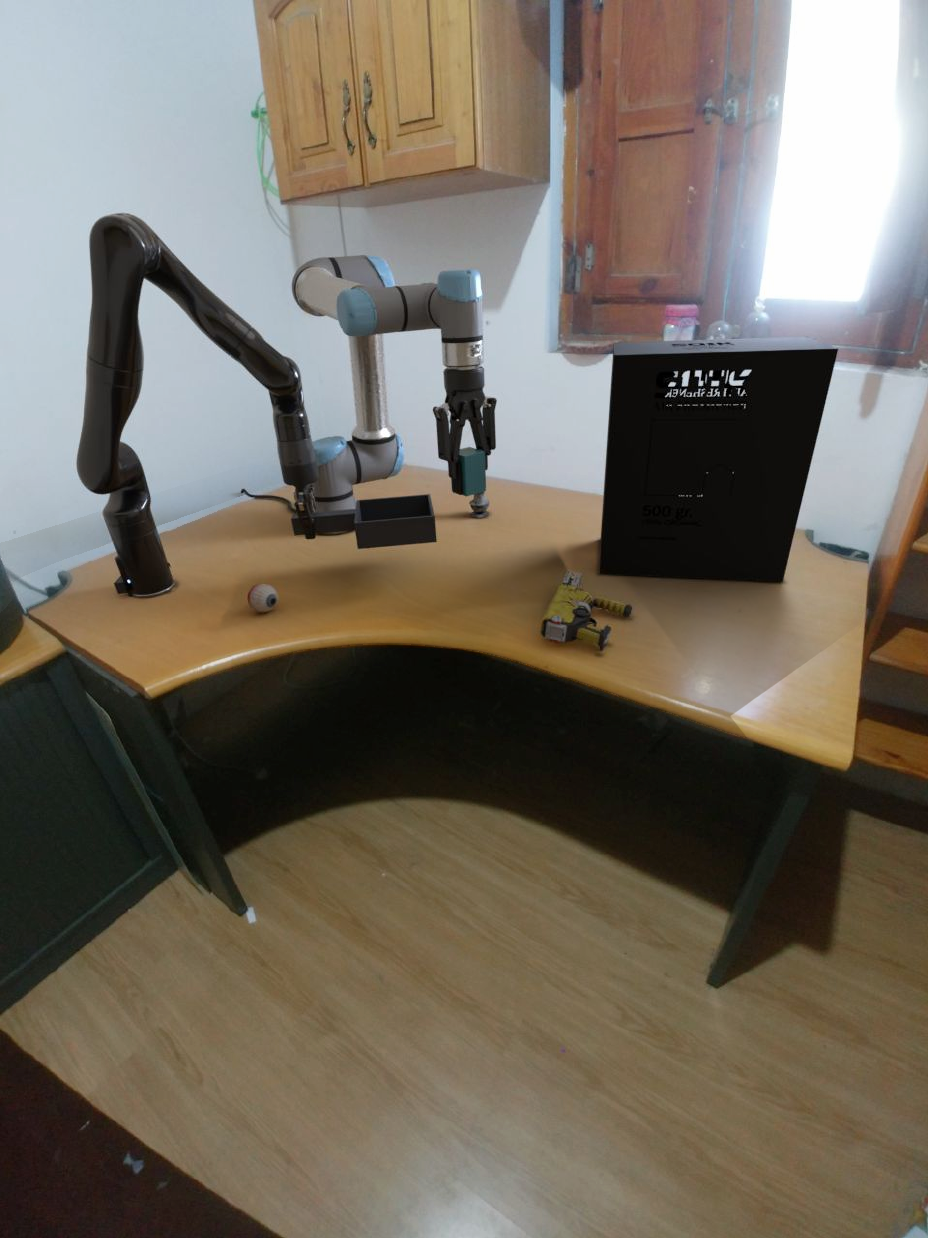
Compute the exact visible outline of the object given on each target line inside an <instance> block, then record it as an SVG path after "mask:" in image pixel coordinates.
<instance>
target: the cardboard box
mask: <svg viewBox="0 0 928 1238" xmlns="http://www.w3.org/2000/svg"><path fill="white" fill-rule="evenodd" d="M612 347H613V348H612V363H611V375H610V376H611V377H610V393H609V407H608V423H607V437H606V452H605V469H604V482H603V495H602V497H603V498H602V514H601V525H600V526H601V527H600V545H599V570H598V571H599V575H612V576H632V577H633V576H634V577H635V576H637V577H659V578H679V579H680V578H682V579H701V580H702V579H703V580H729V581H754V582H772V583H773V582H774V583H775V582H776V583H783V582H784V579H785V574H786V570H787V567H788V563H789V557H790V553H791V549H792V545H793V541H794V537H795V536H794V535H795V532H796V527H797V524H798V519H799V515H800V511H801V506H802V503H803V500H804V499H803V498H804V495H805V490H806V486H807V483H808V477H809V474H810V469H811V466H812V465H811V464H812V460H813V456H814V453H815V448H816V444H817V439H818V436H819V431H820V428H821V423H822V419H823V415H824V411H825V406H826V403H827V398H828V394H829V391H830V386H831V382H832V377H833V373H834V370H835V364H836V360H837V357H838V353H839V348H838V347H835V346H832V345H830V344H827V343H825V342H822V341H819V340H816V339H815V338H811V337H809V336H805V335H804V336H780V337H779V336H775V337H774V336H773V337H749V338H748V337H747V338H745V337H744V338H743V337H742V338H721V339H720V338H717V339H716V338H715V339H689V340H688V339H687V340H684V339H683V340H656V341H655V340H653V341H625V342H624V341H623V342H621V341H620V342H613V346H612ZM696 371H697V372H701V373H700V376H699V375H696ZM745 371H750V372H749V373H748V374H747V375H742V374H743V372H745ZM676 372H677V375H676ZM686 372H689V373H688V381H687V385H683V382H684V381H683V380H684V376H683V375H684V374H685V373H686ZM711 372H712V373H711ZM732 373H733V378H732V381H733V382H739V381H742V382H741V385H740V384H739V385H736V384H735V385H732V384H731V383H730V378H731V374H732ZM711 374H712V375H711ZM700 382H702V385H700ZM713 382H718V385H712V384H713ZM671 383H675V385H674V386H673V385H671V386H670V384H671Z"/></svg>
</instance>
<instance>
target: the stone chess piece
mask: <svg viewBox="0 0 928 1238" xmlns="http://www.w3.org/2000/svg"><path fill="white" fill-rule="evenodd" d="M485 493H486V491H484V492H481V493H477V494H474V495H473V499H471V500H470V501H468V504H469V506H470V509H471V510H472V512H471V513H470V516H471V517H472V518H477V519H478V518H479V519H481V518H486V517H488V516H489V515H490V512H489V511H488V509H489V507H490V503H491V500H489V499H487V498H486V496H485Z"/></svg>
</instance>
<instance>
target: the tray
mask: <svg viewBox="0 0 928 1238" xmlns="http://www.w3.org/2000/svg"><path fill="white" fill-rule="evenodd" d="M312 515H313V519H314V521H313V523H314V529H315V534H316V535H321V534H320V533H332V532H343V531H350V532H353V531H355V539H356V545H357V550H364V549H375V548H386V547H387V548H388V547H397V546H398V547H399V546H408V545H410V546H411V545H420V544H430V543H437V542H438V541H437V528H436V526H437V525H436V516H435V511H434V505H433V502H432V496H431V493H425V494H413V495H403V496H401V495H400V496H390V497H377V498H366V499H356V509H349V510H337V511H325V512H313V513H312ZM304 518H308V517H307V516H304ZM290 521H291V525H292V526H291V527H292V531H293V536H295V537H297V536H305V533H304V527H303V524H300V522H299V518H298V514H297V513H293V514H292V515H291V518H290Z"/></svg>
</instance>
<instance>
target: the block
mask: <svg viewBox="0 0 928 1238" xmlns="http://www.w3.org/2000/svg"><path fill="white" fill-rule="evenodd" d="M458 461H461V462H462V475H463V495H462V496H464V497H466V498H467V497H470V496H474V494H477V493H481V492H486V491H487V475H486V473H485V451H482V450H478V449H476V447H471V446H467V447H463V448H460V452H459V458H458ZM450 479H451V480H450V481H451V482H450V483H451V485H452V478H450ZM451 492H453V489H452V488H451Z"/></svg>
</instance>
